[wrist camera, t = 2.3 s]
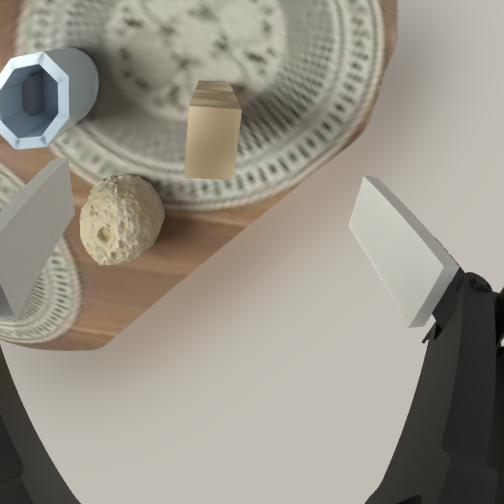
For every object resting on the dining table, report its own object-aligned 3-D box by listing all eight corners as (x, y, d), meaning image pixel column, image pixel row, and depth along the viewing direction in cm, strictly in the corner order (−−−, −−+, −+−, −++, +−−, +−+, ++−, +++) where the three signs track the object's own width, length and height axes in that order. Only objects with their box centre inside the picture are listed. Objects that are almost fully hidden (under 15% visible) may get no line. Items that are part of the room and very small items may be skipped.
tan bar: (194, 123, 30) (184, 177, 19) (198, 80, 28) (189, 106, 17) (224, 125, 31) (233, 180, 20) (229, 82, 28) (242, 110, 17)
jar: (30, 129, 27) (-5, 153, 21) (28, 53, 22) (-12, 62, 16) (99, 124, 29) (73, 147, 23) (101, 42, 23) (71, 44, 18)
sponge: (98, 181, 36) (57, 248, 32) (119, 146, 29) (65, 228, 25) (155, 220, 41) (122, 287, 36) (189, 196, 34) (149, 279, 29)
